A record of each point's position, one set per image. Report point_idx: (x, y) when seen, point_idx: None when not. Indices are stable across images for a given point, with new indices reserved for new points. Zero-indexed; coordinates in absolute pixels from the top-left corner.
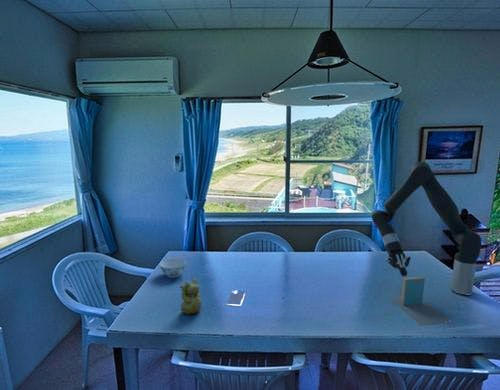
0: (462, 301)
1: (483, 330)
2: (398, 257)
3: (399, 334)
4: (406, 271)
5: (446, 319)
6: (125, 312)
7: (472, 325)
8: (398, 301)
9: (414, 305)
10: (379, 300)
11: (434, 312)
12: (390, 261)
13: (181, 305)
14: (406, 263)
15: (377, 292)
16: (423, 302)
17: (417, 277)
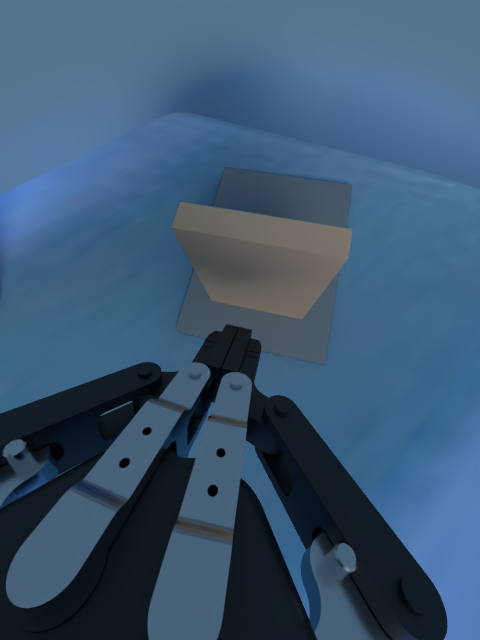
0: (46, 255)
1: (180, 130)
2: (186, 523)
3: (455, 184)
4: (207, 343)
5: (235, 184)
6: None
7: (182, 153)
8: (298, 335)
9: None
10: (366, 390)
11: None
12: (373, 522)
13: None
14: (131, 389)
15: None
16: (201, 290)
17: (222, 227)
